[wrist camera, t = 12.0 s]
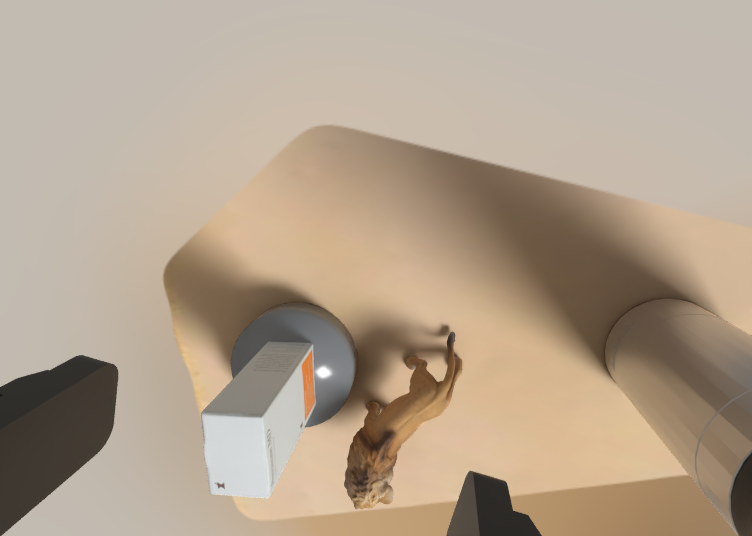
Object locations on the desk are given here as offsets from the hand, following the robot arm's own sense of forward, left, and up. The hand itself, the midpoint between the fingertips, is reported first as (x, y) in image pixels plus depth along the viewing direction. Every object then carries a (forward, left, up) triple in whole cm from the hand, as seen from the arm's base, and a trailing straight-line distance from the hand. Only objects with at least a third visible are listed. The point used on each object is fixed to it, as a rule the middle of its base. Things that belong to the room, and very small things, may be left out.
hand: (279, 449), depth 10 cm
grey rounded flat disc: (+6, +14, -30) cm, 34 cm away
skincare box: (+6, +14, -27) cm, 31 cm away
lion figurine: (-5, +15, -30) cm, 34 cm away
